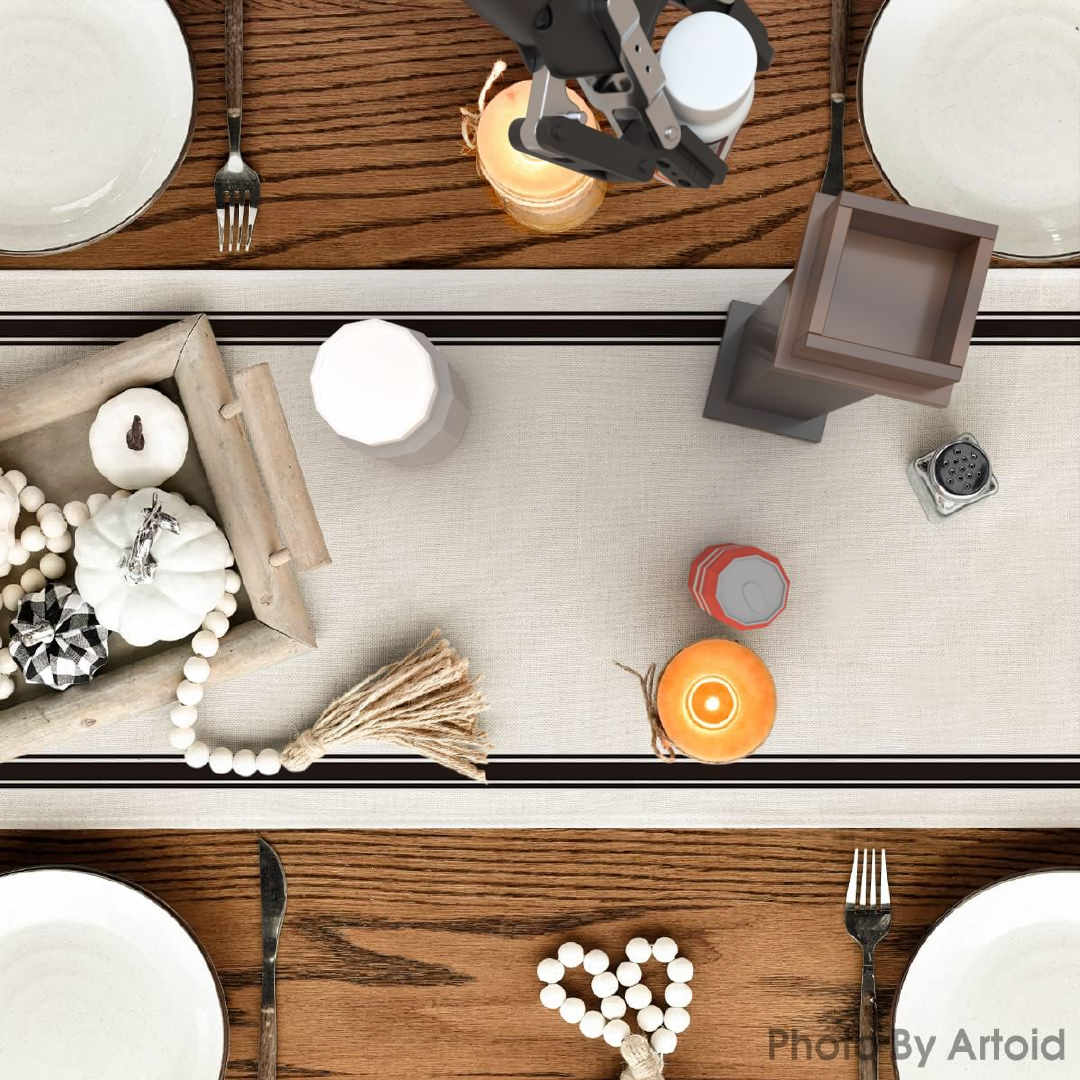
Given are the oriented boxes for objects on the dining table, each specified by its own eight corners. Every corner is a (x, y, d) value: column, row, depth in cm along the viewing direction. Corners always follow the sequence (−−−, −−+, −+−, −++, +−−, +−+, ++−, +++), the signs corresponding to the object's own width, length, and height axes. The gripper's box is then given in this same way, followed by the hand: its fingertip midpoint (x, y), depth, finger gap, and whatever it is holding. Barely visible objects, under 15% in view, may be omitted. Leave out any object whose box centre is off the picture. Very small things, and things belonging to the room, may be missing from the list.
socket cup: (810, 197, 53) (831, 171, 49) (983, 236, 52) (1018, 213, 48) (769, 369, 53) (785, 357, 49) (940, 409, 53) (971, 400, 49)
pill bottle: (683, 71, 46) (710, -25, 38) (750, 141, 46) (791, 60, 38) (614, 140, 46) (625, 59, 38) (680, 209, 46) (706, 144, 38)
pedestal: (729, 302, 79) (810, 197, 53) (844, 328, 78) (983, 236, 52) (701, 417, 79) (769, 369, 53) (816, 444, 79) (940, 409, 53)
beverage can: (708, 628, 79) (734, 648, 67) (674, 562, 79) (694, 570, 67) (772, 596, 79) (809, 610, 67) (738, 529, 79) (768, 532, 67)
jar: (491, 437, 79) (469, 414, 61) (389, 487, 80) (338, 479, 62) (441, 334, 79) (404, 281, 61) (339, 385, 80) (273, 347, 62)
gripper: (440, 29, 28) (740, 276, 40) (617, -439, 27) (868, -44, 39) (321, 52, 33) (617, 264, 45) (468, -338, 32) (728, -18, 44)
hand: (732, 119), depth 42 cm, fingers closed on pill bottle, 4 cm apart
